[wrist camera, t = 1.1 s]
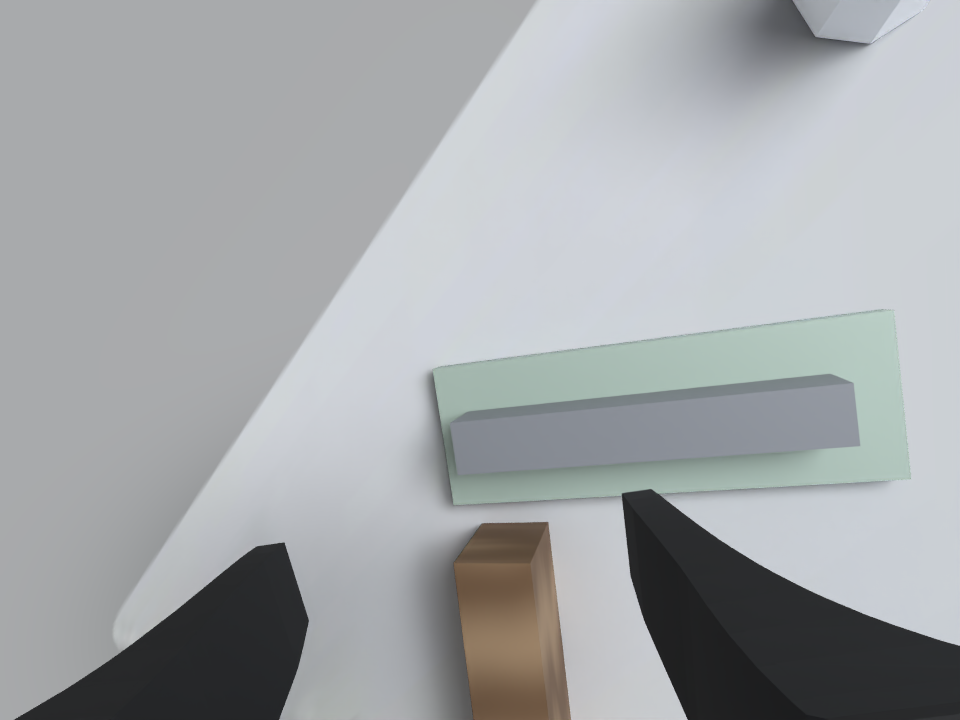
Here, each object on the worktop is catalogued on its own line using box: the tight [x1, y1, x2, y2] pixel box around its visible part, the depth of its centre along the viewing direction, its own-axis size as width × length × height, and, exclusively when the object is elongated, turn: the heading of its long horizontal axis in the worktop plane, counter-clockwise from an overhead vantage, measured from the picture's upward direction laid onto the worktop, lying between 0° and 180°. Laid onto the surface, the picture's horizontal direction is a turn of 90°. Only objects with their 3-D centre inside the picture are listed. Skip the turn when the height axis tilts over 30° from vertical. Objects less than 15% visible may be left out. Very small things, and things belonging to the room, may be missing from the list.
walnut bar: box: [454, 522, 571, 720], centre depth 28 cm, size 14×4×5 cm, turn 7°
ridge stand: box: [433, 309, 911, 505], centre depth 26 cm, size 7×20×4 cm, turn 99°
